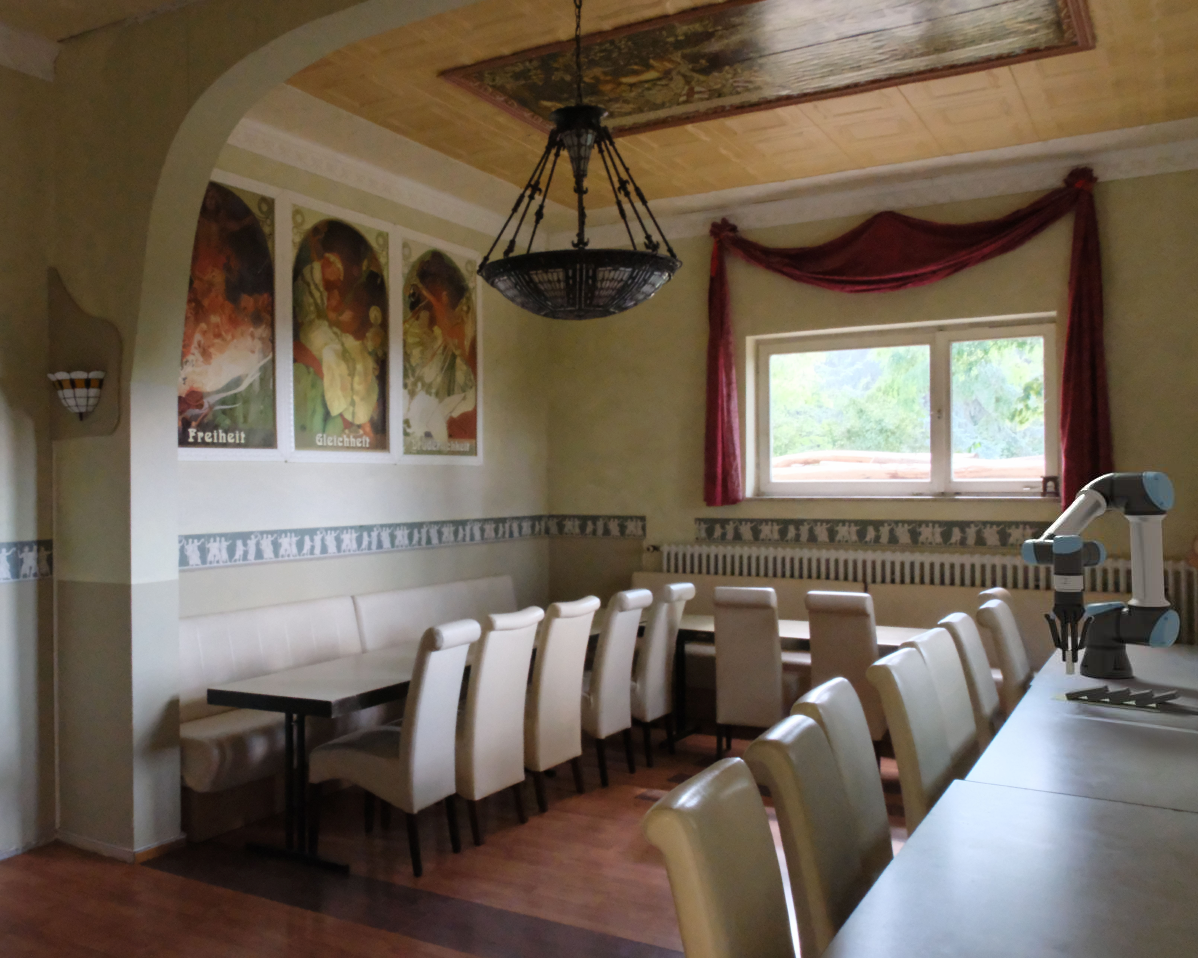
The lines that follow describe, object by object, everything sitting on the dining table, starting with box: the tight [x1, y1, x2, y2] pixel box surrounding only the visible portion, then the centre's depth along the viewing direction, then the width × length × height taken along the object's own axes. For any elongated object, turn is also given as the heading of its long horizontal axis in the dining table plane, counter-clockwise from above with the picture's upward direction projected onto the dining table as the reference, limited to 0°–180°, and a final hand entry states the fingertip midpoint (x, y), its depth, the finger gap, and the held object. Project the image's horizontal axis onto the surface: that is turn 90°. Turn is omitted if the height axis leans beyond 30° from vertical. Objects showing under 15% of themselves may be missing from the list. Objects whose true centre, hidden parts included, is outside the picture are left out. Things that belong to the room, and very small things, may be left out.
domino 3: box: [1109, 688, 1155, 704], centre depth 264 cm, size 5×2×10 cm
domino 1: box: [1064, 684, 1110, 699], centre depth 271 cm, size 5×2×10 cm
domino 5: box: [1155, 701, 1198, 716], centre depth 256 cm, size 5×2×10 cm
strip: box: [1051, 693, 1161, 713], centre depth 268 cm, size 9×27×1 cm, turn 48°
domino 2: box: [1086, 686, 1132, 702], centre depth 268 cm, size 5×2×10 cm
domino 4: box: [1133, 689, 1181, 707], centre depth 260 cm, size 5×2×10 cm
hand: (1070, 673), depth 274 cm, fingers closed
